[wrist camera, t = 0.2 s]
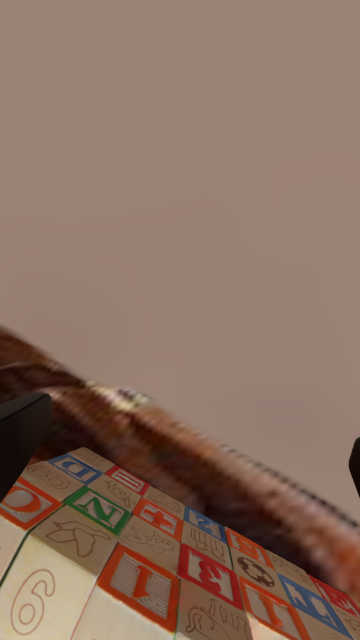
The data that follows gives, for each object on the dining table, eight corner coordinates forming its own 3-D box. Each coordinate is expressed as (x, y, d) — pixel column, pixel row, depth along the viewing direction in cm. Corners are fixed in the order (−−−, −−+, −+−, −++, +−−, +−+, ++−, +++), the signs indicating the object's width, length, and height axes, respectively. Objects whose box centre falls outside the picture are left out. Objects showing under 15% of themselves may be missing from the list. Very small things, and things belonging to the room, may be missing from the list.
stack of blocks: (350, 592, 19) (620, 910, 7) (324, 705, 17) (615, 1370, 5) (82, 445, 22) (-43, 489, 10) (39, 527, 21) (-166, 690, 9)
